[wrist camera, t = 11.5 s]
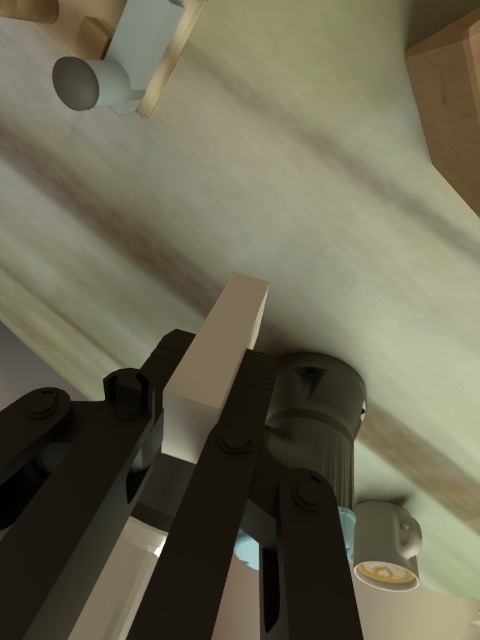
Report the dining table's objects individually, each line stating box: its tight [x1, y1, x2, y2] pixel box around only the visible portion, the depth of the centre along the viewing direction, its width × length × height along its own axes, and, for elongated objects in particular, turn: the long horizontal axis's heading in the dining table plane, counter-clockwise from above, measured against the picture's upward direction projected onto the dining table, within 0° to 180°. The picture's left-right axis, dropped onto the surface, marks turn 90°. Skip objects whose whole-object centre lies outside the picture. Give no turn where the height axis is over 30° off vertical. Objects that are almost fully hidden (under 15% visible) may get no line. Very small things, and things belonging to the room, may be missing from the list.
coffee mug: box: [354, 501, 422, 592], centre depth 60 cm, size 13×10×10 cm
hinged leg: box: [52, 0, 186, 115], centre depth 28 cm, size 3×10×9 cm, turn 141°
